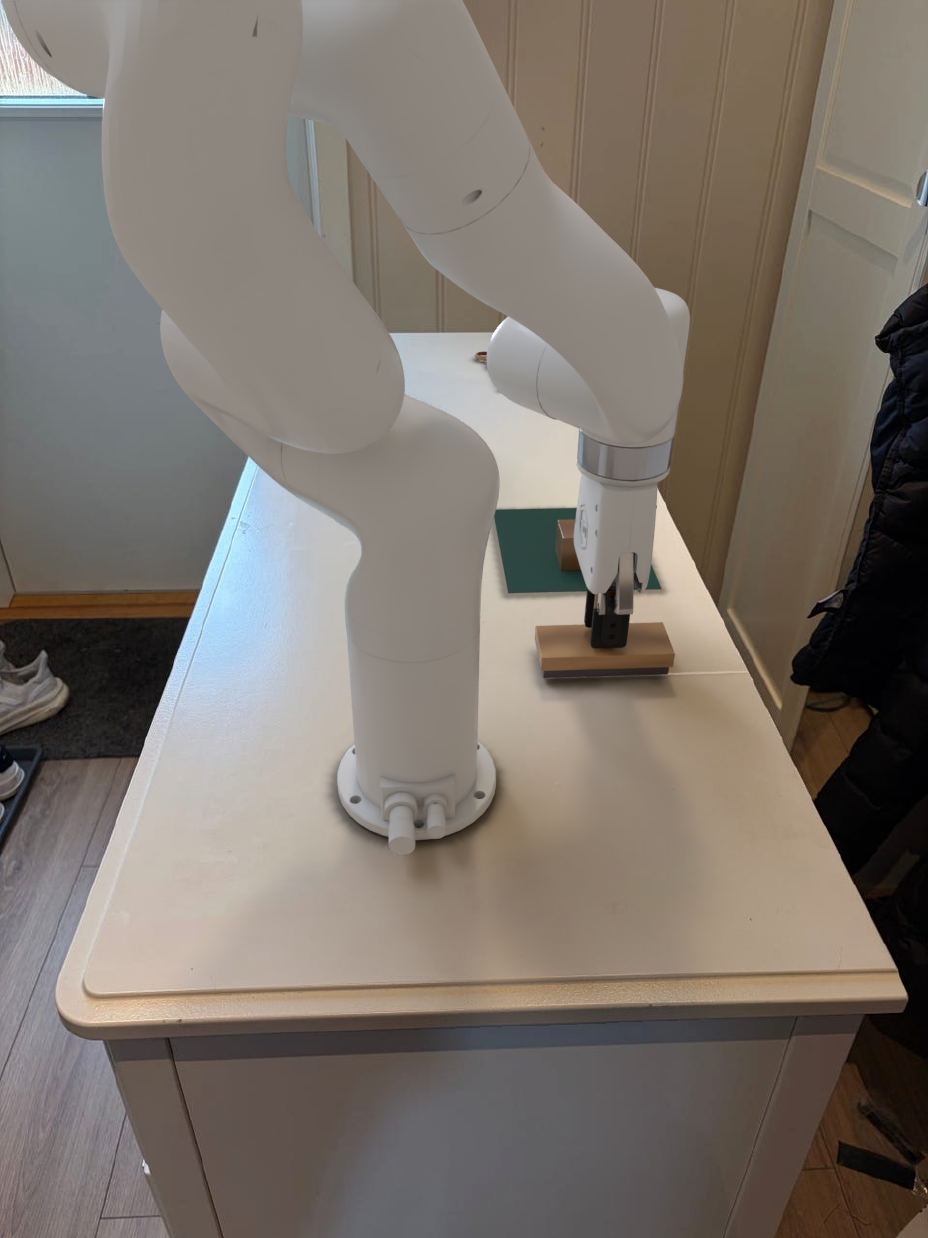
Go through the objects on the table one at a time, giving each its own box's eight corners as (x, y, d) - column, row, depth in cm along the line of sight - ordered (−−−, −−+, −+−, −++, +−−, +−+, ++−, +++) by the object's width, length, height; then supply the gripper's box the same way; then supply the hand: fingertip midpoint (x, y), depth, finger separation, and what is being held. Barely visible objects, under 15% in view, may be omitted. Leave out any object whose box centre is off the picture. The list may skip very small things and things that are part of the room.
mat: (661, 591, 102) (661, 588, 102) (508, 595, 102) (508, 592, 101) (626, 508, 117) (627, 506, 117) (492, 511, 116) (492, 509, 116)
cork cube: (597, 569, 105) (601, 537, 103) (560, 570, 105) (563, 538, 103) (591, 550, 109) (594, 518, 106) (555, 551, 108) (557, 519, 106)
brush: (671, 676, 90) (684, 597, 85) (540, 680, 89) (545, 601, 84) (659, 643, 94) (670, 567, 89) (533, 647, 93) (538, 570, 88)
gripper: (563, 410, 86) (551, 588, 96) (595, 498, 72) (577, 693, 83) (648, 408, 86) (627, 586, 96) (696, 495, 73) (666, 690, 83)
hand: (604, 634), depth 90 cm, fingers closed on brush, 2 cm apart
